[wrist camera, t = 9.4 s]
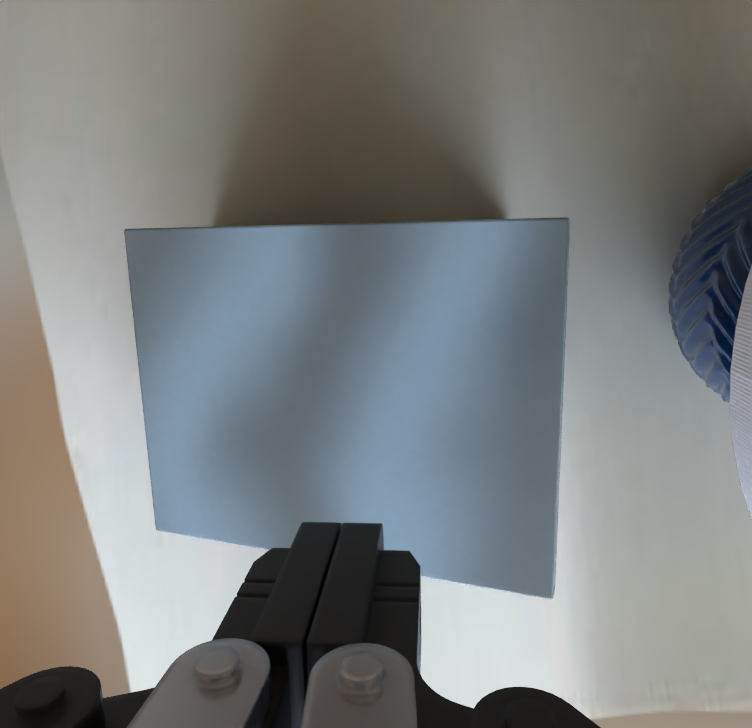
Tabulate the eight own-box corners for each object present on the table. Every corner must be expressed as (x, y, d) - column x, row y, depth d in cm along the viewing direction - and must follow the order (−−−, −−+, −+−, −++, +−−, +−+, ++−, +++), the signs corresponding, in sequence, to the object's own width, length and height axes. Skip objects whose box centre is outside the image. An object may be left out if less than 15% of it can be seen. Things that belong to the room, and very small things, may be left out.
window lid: (570, 217, 19) (568, 217, 18) (555, 588, 22) (552, 600, 21) (137, 228, 25) (122, 228, 24) (167, 522, 28) (155, 530, 27)
